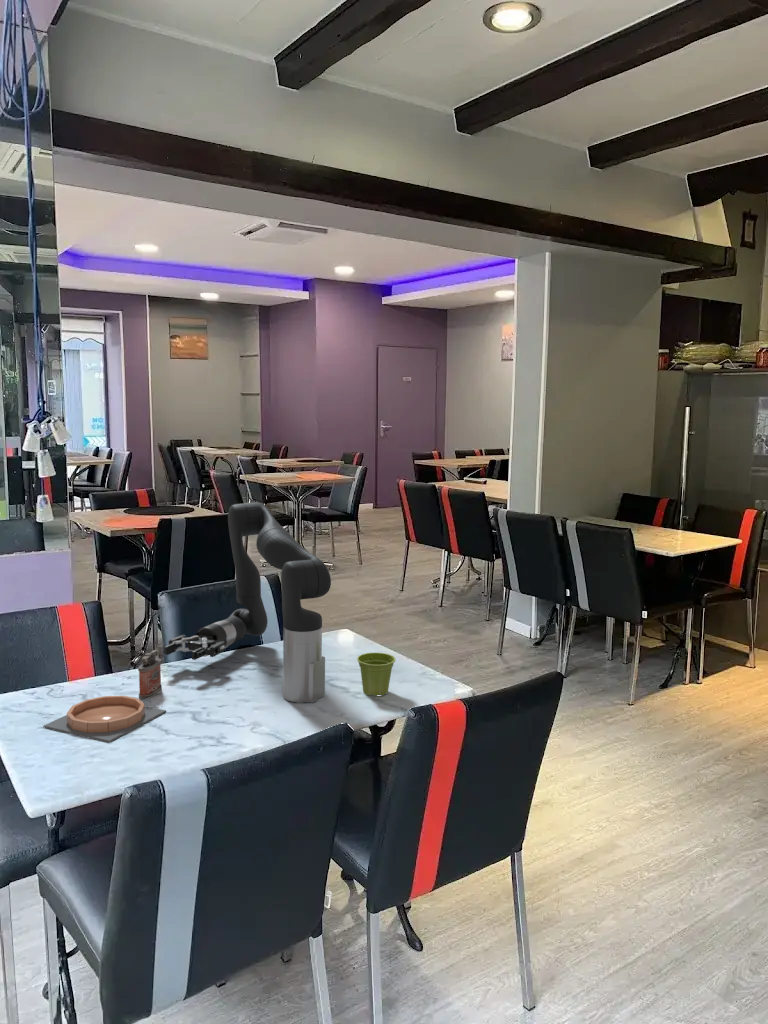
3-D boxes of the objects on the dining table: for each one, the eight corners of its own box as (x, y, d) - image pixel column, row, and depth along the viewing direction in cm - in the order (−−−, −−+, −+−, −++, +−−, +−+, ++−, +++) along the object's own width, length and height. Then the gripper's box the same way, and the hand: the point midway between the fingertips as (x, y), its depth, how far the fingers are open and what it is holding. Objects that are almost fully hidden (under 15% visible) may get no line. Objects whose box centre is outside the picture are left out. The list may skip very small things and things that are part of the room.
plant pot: (402, 694, 187) (403, 660, 186) (370, 702, 182) (370, 666, 181) (380, 683, 195) (381, 650, 194) (349, 690, 190) (349, 656, 189)
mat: (166, 712, 174) (166, 710, 174) (109, 742, 157) (109, 740, 157) (104, 699, 180) (103, 697, 180) (43, 727, 164) (43, 725, 164)
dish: (158, 711, 173) (158, 702, 173) (109, 737, 159) (108, 727, 158) (104, 700, 179) (104, 691, 179) (52, 724, 165) (51, 715, 164)
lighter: (148, 699, 181) (147, 658, 180) (135, 698, 182) (134, 657, 180) (164, 688, 189) (164, 648, 187) (152, 686, 189) (151, 647, 188)
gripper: (194, 620, 212) (156, 635, 197) (238, 626, 206) (202, 643, 192) (194, 646, 213) (156, 663, 198) (238, 653, 207) (202, 672, 193)
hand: (179, 653), depth 195 cm, fingers open, 8 cm apart
